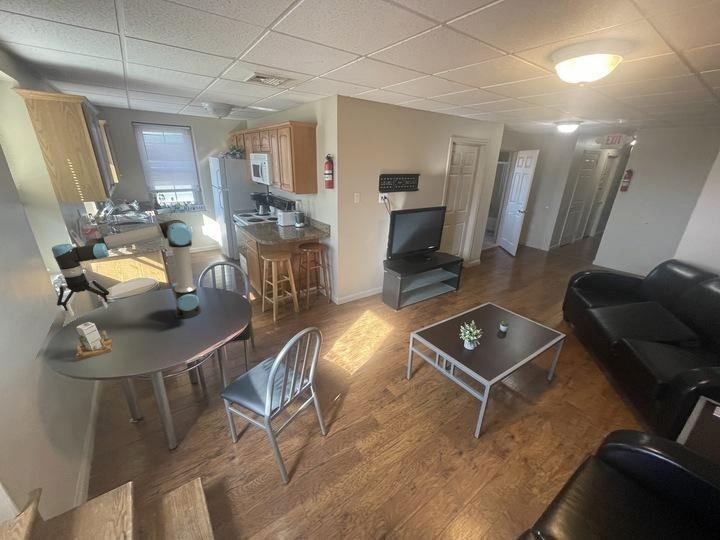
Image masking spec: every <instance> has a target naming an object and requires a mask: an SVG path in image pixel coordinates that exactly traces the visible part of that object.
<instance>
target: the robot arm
mask: <svg viewBox="0 0 720 540" xmlns="http://www.w3.org/2000/svg"><path fill="white" fill-rule="evenodd" d="M158 239H162V240H163V239H164V240H167V244H168V247H169V248H170V249H171V251H172V256H173V257H172V258H173V265H174V272H175V280H176V282H174V283H171V290H172V294H173V297H174V301H175V304H176V306H175V317H176V318H178V319H181V320H183V319H184V320H186V319H191V318H194V317H196V316H198V315H199V314H201V313H202V307H201V306H200V304H199V303H200V299H199V296H198V290H197V286H196V285H195V284H194V278H193V270H192V269H193V268H192V260H191V250H190V248H191V247H192V246H193V242H192V239H193V232H192V229H191V228H190V226H188V225H187V223H185V222H184V221H183V220H180V219H172V220H167V221H164V222H159V223H157V224H156V225H153V226H149V227H144V228H141V229H140V228H139V229H136V230H131V231H126V232H121V233H117V234H111V235H107V236H101V237H91V238H89V239H88V240H86V241H85V244H84V245H81V246H73V244H71V243H62V244H56V245H53V246H52V247H51V252H52V254H53V258H54V259H55V262H56V263H57V265H58V268H59V270H60V273H61V274H62V276H63V279H64V281H65V282H66V283H65V284H66V285H60V286H59V288H58V290H59V295H58V298H57V302H56V306H58V307H60V306H62V307H63V309H64V310H65V311H66V312H68V313H69V315H70V317H74V315H75V313H74V310H73V309H72V306H71V304H70V303H68V302H69V300H71V297H72V296H73V295H74V293H77V294H78V293H81V292H85V291H87V292H91V293H94V294H96V295H98V296H100V299H101V301H102V304H103V306H104V309H107V308H108V303H107V302H108V297H107V296H108V295H110V291H109V290H108V289H106V288H105V286H103V285H101V284H100V283H98V282H97V279H95V278H94V279H92V280H90V281H89V280H88V279H87V277H86V274H85V272H84V270H83V268H82V265H81V263H82V262H88V261H94V260H102V259H106V258H108V257H109V256H110V253H109V251H111V250H116V249H120V248H124V247H129V246H133V245H138V244H141V243H145V242H151V241H155V240H158ZM90 285H92V286H93V285H94V286H95V287H96V288H97V289H96V288H94V287H92V286H90ZM66 290H70V292H68V294H67V296H66V298H65V299H64V301H63V298H64V293H65V291H66Z"/></svg>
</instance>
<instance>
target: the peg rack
mask: <svg viewBox="0 0 720 540" xmlns="http://www.w3.org/2000/svg"><path fill="white" fill-rule="evenodd" d="M101 335H102V338H101V339H100V340H99V341H100V343H101V345H102V347H100V348H98V349H96V350H94V351H91V350H88V349H86V348H85V345H84V343H83V341H82V339H81V337H80V336H78V341H79V342H80V345H79V344H78V345H75V346H74V347H75V349H76V354H75V361H76V362H80V361H83V360H86V359H90V358H93V357H94V358H95V357H98V356H101V355H104V354H107V353H110V352H112V348H113V343H114V342H113V341H114V340H113V337H110V338H109V337H108V334H107V332H106V330H104V329H103V330H101Z"/></svg>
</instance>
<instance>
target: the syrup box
mask: <svg viewBox="0 0 720 540" xmlns="http://www.w3.org/2000/svg"><path fill="white" fill-rule="evenodd" d="M76 330H77V332H78V334H79V337H81V339H82V341H83V343H84V345H85V348H86V349H88V350H91V351H94V350H96V349H98V348H100V347H102V345H101V343H100V341H99V340H100V339H102V338H101V336H100V333H99V331H98V328H97V326H96V324H95V323H93V322H90V321H86V322H83V323H81V324H79V325H78V326H76Z"/></svg>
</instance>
